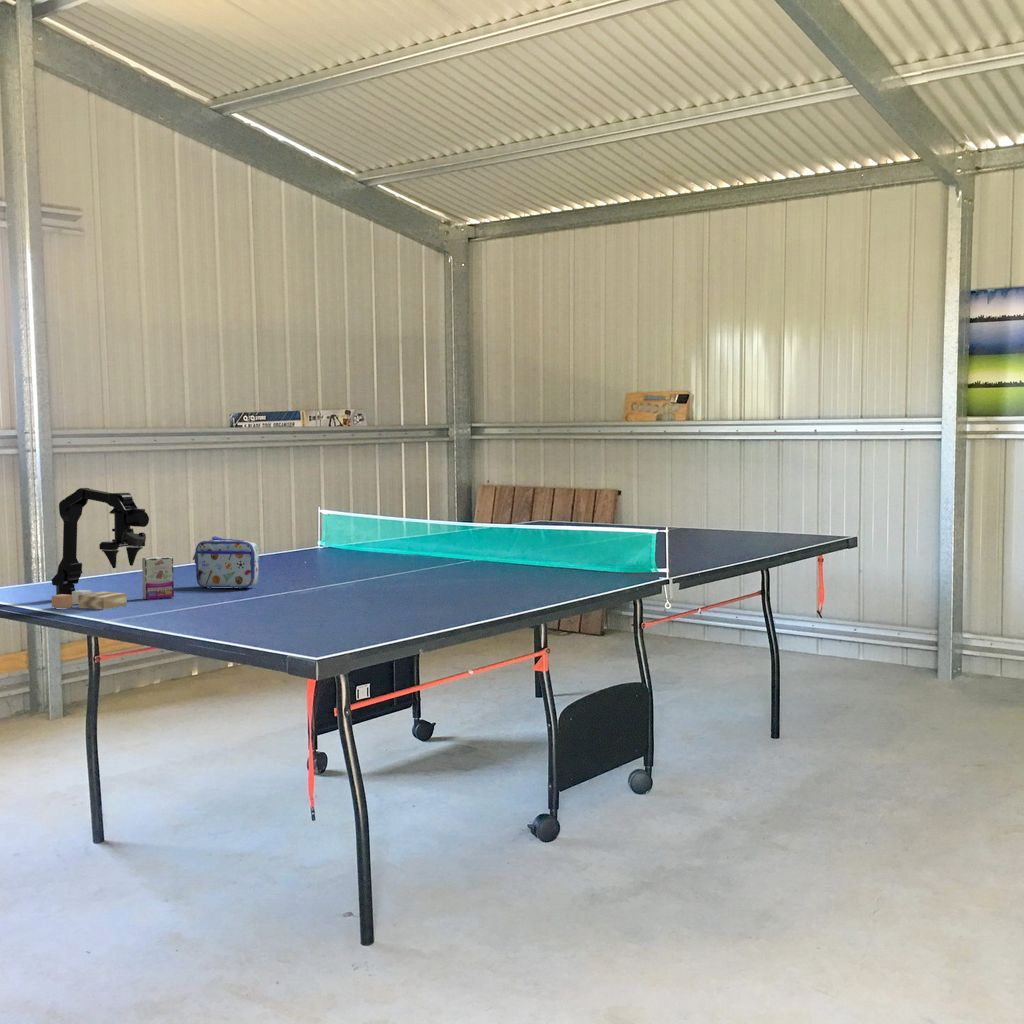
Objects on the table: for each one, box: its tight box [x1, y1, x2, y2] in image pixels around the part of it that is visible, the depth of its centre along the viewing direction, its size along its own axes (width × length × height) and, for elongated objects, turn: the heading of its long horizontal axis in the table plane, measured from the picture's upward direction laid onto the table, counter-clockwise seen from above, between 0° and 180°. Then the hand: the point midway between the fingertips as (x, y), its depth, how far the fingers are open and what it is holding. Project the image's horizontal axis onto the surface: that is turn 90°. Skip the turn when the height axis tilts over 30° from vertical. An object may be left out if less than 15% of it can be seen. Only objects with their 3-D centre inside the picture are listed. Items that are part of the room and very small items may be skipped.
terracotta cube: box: [51, 594, 73, 609], centre depth 399 cm, size 5×5×5 cm
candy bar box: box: [141, 556, 175, 600], centre depth 426 cm, size 11×5×16 cm, turn 126°
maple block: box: [78, 591, 128, 611], centre depth 404 cm, size 12×12×5 cm
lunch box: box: [192, 535, 260, 589], centre depth 459 cm, size 28×10×22 cm, turn 84°
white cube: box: [72, 589, 93, 605], centre depth 410 cm, size 5×5×5 cm
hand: (122, 566), depth 407 cm, fingers open, 9 cm apart
